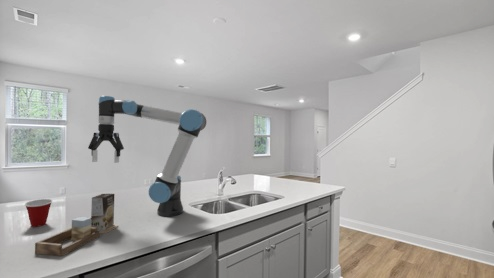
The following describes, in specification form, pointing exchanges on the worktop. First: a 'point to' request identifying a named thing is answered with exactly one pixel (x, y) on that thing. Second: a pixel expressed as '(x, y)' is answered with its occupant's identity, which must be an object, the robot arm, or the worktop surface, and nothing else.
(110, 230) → the cork trivet
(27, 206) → the plastic cup
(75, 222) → the offcut block top
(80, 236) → the offcut block bottom
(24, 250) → the worktop surface
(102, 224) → the coffee box
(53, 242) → the walnut rack
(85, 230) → the offcut block middle
